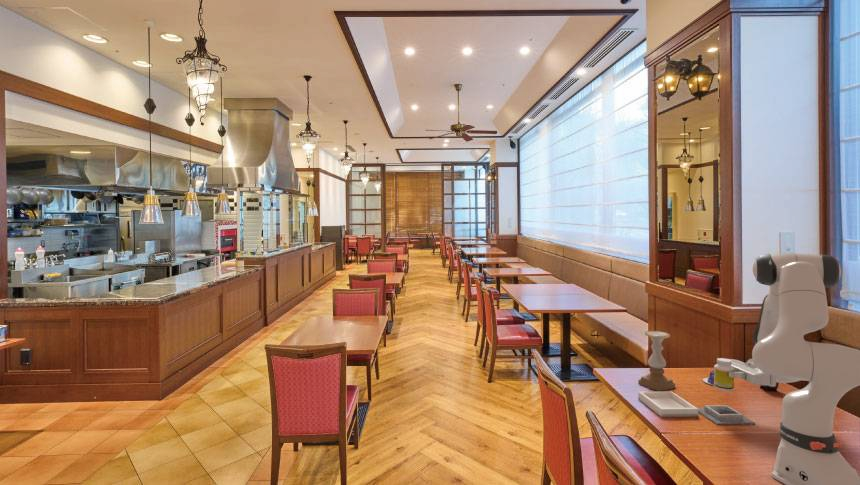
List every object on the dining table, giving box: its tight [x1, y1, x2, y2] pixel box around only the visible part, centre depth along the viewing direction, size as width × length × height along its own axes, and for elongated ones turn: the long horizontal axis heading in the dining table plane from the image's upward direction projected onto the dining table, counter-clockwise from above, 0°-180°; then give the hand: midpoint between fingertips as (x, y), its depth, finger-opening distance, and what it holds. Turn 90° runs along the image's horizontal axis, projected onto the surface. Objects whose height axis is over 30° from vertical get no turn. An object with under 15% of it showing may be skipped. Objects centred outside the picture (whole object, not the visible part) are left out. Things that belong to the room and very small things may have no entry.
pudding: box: [702, 370, 714, 386], centre depth 204 cm, size 12×12×5 cm
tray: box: [638, 390, 699, 418], centre depth 177 cm, size 18×14×3 cm
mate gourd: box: [759, 382, 779, 393], centre depth 195 cm, size 8×8×15 cm
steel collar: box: [697, 404, 756, 426], centre depth 168 cm, size 14×14×2 cm
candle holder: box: [637, 330, 676, 391], centre depth 200 cm, size 11×11×24 cm
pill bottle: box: [713, 357, 735, 392], centre depth 167 cm, size 6×6×11 cm
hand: (721, 371), depth 167 cm, fingers closed on pill bottle, 6 cm apart
